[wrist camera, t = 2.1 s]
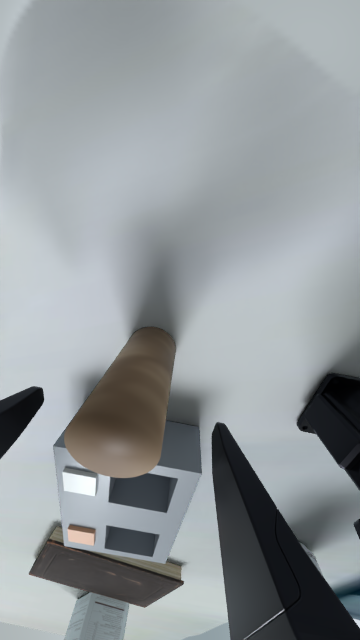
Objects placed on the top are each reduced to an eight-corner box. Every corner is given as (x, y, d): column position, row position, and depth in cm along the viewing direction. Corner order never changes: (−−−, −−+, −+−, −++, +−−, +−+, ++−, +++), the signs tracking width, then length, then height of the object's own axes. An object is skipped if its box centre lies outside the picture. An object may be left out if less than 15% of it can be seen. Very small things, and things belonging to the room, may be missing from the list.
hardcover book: (58, 519, 27) (47, 541, 25) (184, 561, 30) (183, 584, 28) (38, 554, 33) (27, 575, 31) (146, 587, 36) (143, 608, 33)
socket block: (199, 427, 17) (202, 478, 13) (169, 515, 24) (164, 568, 20) (82, 404, 17) (50, 450, 13) (84, 500, 24) (62, 550, 20)
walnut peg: (179, 332, 14) (168, 423, 6) (171, 371, 15) (153, 484, 8) (131, 322, 14) (61, 403, 6) (126, 363, 15) (66, 468, 8)
